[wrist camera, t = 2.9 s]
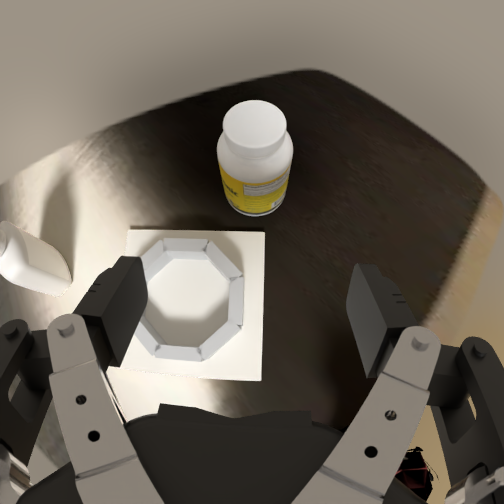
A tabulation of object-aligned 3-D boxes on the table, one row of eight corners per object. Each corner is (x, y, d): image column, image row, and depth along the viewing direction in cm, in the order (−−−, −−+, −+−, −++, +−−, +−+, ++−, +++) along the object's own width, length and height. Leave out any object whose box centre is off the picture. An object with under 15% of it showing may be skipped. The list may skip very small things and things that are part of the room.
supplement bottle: (221, 169, 28) (208, 97, 19) (278, 161, 29) (288, 88, 19) (228, 223, 27) (216, 162, 17) (290, 213, 27) (308, 150, 18)
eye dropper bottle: (69, 238, 27) (-10, 184, 15) (74, 294, 25) (-16, 262, 14) (37, 249, 26) (-43, 205, 15) (41, 303, 25) (-49, 277, 13)
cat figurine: (403, 441, 21) (482, 485, 10) (352, 497, 20) (403, 568, 8) (350, 401, 23) (420, 442, 11) (295, 461, 21) (324, 540, 10)
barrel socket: (118, 367, 23) (102, 369, 21) (130, 231, 27) (117, 219, 24) (260, 379, 23) (261, 385, 20) (264, 234, 27) (265, 221, 24)
